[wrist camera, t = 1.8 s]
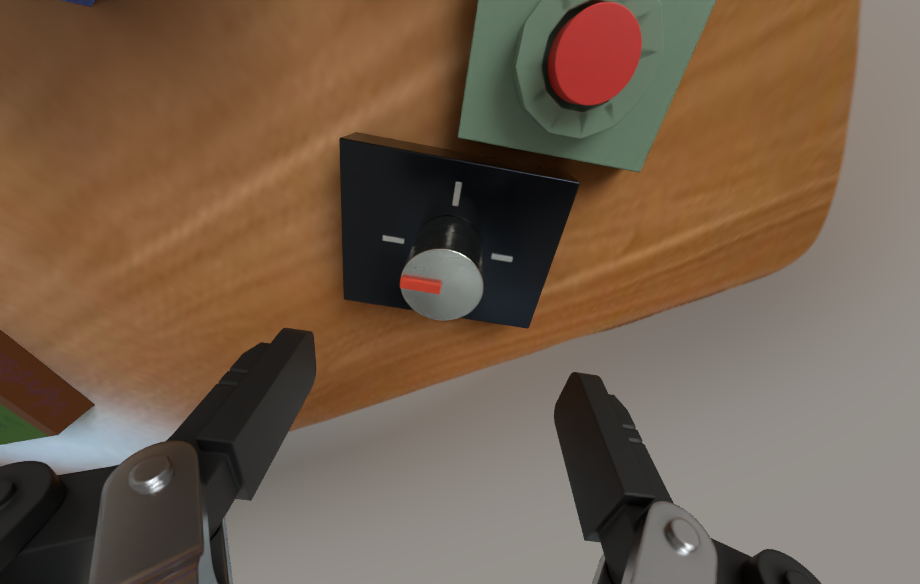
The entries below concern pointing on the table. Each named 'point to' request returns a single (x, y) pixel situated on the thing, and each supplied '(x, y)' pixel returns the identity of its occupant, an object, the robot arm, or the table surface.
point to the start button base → (542, 111)
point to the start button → (595, 54)
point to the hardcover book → (33, 397)
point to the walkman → (82, 2)
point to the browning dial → (444, 270)
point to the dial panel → (449, 194)
